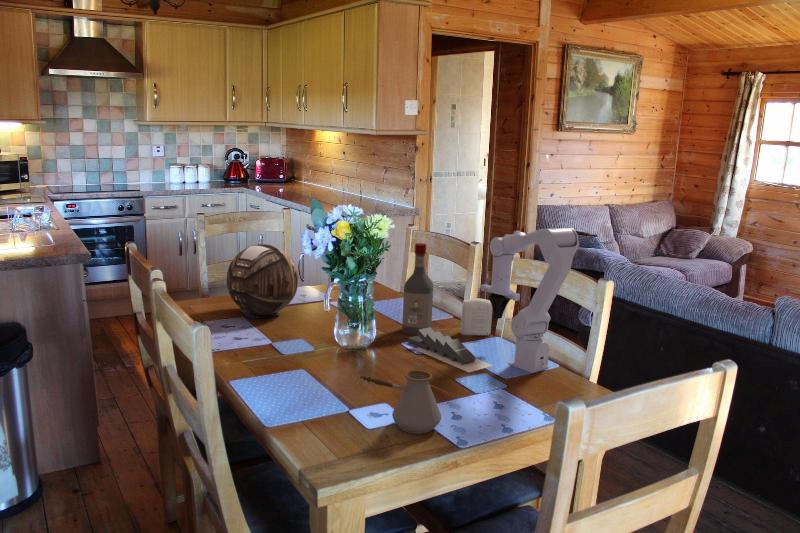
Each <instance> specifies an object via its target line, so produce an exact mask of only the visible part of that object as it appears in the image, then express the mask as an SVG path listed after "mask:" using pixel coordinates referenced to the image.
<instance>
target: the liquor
mask: <svg viewBox="0 0 800 533" xmlns="http://www.w3.org/2000/svg"><path fill="white" fill-rule="evenodd" d="M414 254H415V257H414V258H415V259H414V270H413V273H412V274H411V275H410V277H409V278H408V279H407V280H406V281H405V282H404V286H403V302H402V304H403V305H402V328H401V330H402V332H403V334H406V335H407V336H408V335H409V336H410V335H414V336H418V334H417V332H418V330H419V329H424V328H429V327H431V328H432V321H433V320H432V318H433V300H434V282H433V280H432V279H431V278H430V277H429V275H428V274H427V273H426V269H425V265H426V264H425V263H426V262H425V261H426V260H425V259H426V254H427V244H426V243H417V242H416V243H415V244H414Z"/></svg>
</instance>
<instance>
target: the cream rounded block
mask: <svg viewBox="0 0 800 533" xmlns="http://www.w3.org/2000/svg"><path fill="white" fill-rule="evenodd" d="M492 316H493V308H492V304H491V302H490V300H489V299H485V298H478V297H477V298H471V299H470V298H469V299H466V300H463V303H462V308H461V322H460V334H461V335H463V336H490V335H491V330H492V319H493V317H492ZM487 333H488V334H487ZM489 334H490V335H489Z"/></svg>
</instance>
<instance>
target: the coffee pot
mask: <svg viewBox="0 0 800 533" xmlns="http://www.w3.org/2000/svg"><path fill="white" fill-rule="evenodd" d="M404 377H405V379H406V385H405V386H403V385H398V384H394V383H392V382H388V381H386V380H383V379H379V378H374V377H371V376H368V377H367V376H365V375H360V376H358V377H357V378H356V383H357V385H358V386H361V385H363V382H364V381H367V383H373V384H375V385H379V386H383V387H388V388H394V389H397V390H399V391H402V393H401V395H400V397H399V399H398V400H397V402H396V404H395V407H394V409H393V411H392V414H391V415H392V420H393V421H394V423H395V424H396V425H397V426H398V427H399V428H400V429H401V431H404V432H406V433H409V434H417V435H419V434H420V435H421V434H427V433H429V432H431V431H432V430H433V429H434V428H436V427H437V426H438V425H439V424H440V422H441V420H442V414H441V412H440V408H439V406H438V403H437V400H436V398H435V396H434V392H433V391H432V388H431V385H430V383H431V380H432V379H433V374H432V373H431V372H429V371H425V370H420V369H410V370H408V371H406V372H405V373H404ZM359 378H360V379H361V383H360V384H359Z"/></svg>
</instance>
